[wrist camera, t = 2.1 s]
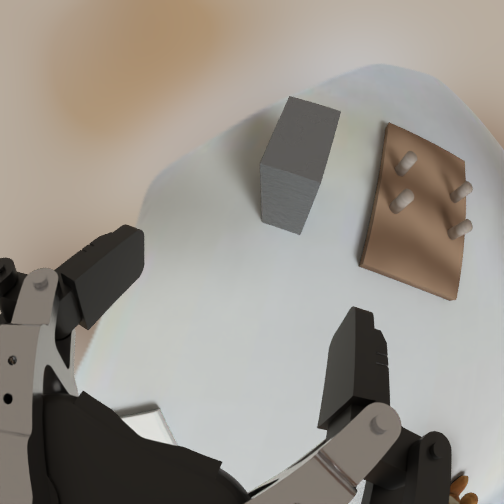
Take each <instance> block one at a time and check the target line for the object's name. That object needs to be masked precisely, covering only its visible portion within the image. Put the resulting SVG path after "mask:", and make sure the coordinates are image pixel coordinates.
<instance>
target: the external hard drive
mask: <svg viewBox="0 0 504 504" xmlns="http://www.w3.org/2000/svg"><path fill="white" fill-rule="evenodd" d="M120 418H121V419H122V420H123V421H124V422H125V423H126V424H127V425H128V426H129V427H130V428H132V429H133V430H134V431H135V432H136V433H137V434H138V435H140V436H141V437H143V438H146V439H150V440H154V441H158V442H162V443H167V444H171V445H176V446H178V444H177V442H176V441H175V439H174V437H173V435H172V433H171V431H170V429H169V427H168V425H167V422H166V420H165V418H164V416H163V414H162V412H161V410H160V408H159V409H155V410H151V411H146V412H141V413H136V414H131V415H126V416H120Z"/></svg>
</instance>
